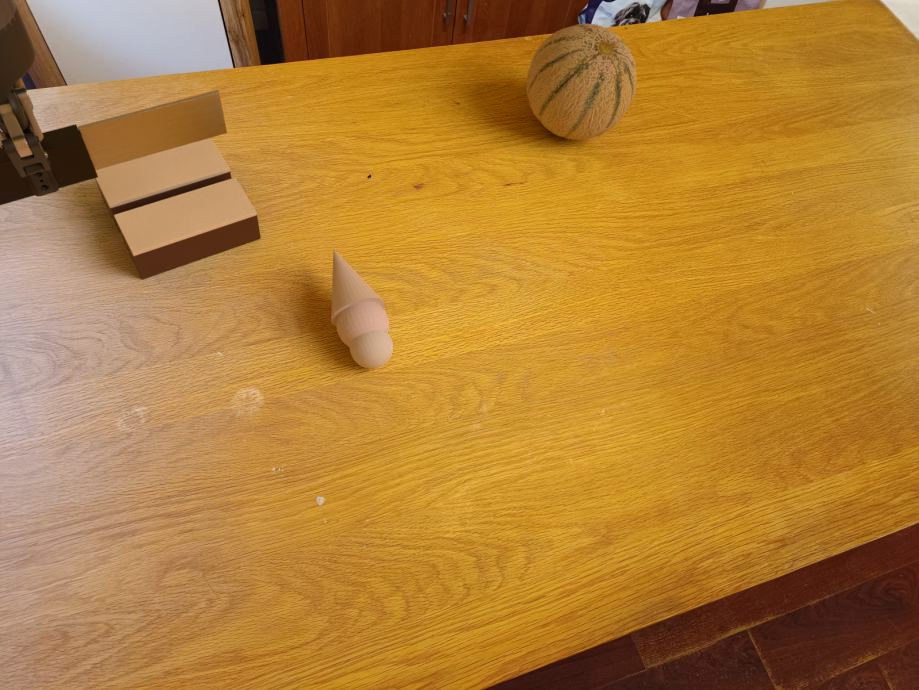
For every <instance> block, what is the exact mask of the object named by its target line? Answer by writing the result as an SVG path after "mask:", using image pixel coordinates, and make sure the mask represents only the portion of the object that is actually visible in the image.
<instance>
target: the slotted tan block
mask: <svg viewBox="0 0 919 690" xmlns="http://www.w3.org/2000/svg"><path fill="white" fill-rule="evenodd" d="M96 172H97V175H98V177H97V178H94V180H95V183H96V185H97V188H98V190H99V192H100V194H101V198H102V200H103V202H104V204H105V206H106V208H107V210H108V212H109V214H110V216H111V218H112V220H113V222H114V225H115V227H116V228H117V231H118V232H119V234H120V236H121V238H122V240H123V243H124V245H125V247H126V249H127V251H128V253H129V255H130V257H131V259H132V262H133V263H134V265H135V268H136V269H137V272H138V274H139V276H140V278H141V280H147V279H149V278H151V277H154V276H157V275H160V274H163V273H166V272H169V271H172V270H176V269H177V268H180V267H184V266H187V265H189V264H192V263H194V262H197V261H201V260H203V259H206V258H209V257H212V256H215V255H218V254H220V253H224V252H227V251H229V250H232V249H235V248H238V247H240V246H245V245H246V244H249V243H252V242H256V241H258V240H261V231H260V224H259V218H258V212H257V210H256V208H255V207H254V205H253V203H252V202H251V200H250V199H249V196H247V194H246V191H244V189H243V187H242V186H241V184H240V183H239V181H238V179H237V178H236V177H232V174H231V173H232V172H231V168H230V166H229V165H228V163H227V161H226V160H225V158H224V157H223V155H222V153H221V152H220V150H219V148H218V147H217V145H216V144H215V142H214V140H213V139H212V138H208V139H205V140H201V141H197V142H194V143H190V144H187V145H183V146H180V147H176V148H173V149H169V150H166V151H162V152H159V153H155V154H152V155H148V156H145V157H141V158H137V159H134V160H130V161H127V162H123V163H120V164H116V165H113V166H109V167H106V168H102V169H99V170H96Z"/></svg>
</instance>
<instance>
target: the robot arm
mask: <svg viewBox="0 0 919 690" xmlns="http://www.w3.org/2000/svg"><path fill="white" fill-rule="evenodd" d="M17 6H18V5H17V4H16V1H15V0H0V147H1V148H2V149H3V151H4V152H5V151H6V153H7V155H8V156H9V158H10V160H11V161H12V163H13V165H14V166H15V169H16V172H17V174H20V176H21V178H22V177H25V178H26V180H27V182H28V184H29V186H30V188H31V190H32V192H33V194H34V195H35V196H36V197H43V196H46V195H50V194H54V193H56V192H58V191H59V190H60V188H59V186H58V183H57V181H56V179H55V177H54V175H53V173H52V170H51V167H50V165H51V162H50V160H49V159H47V157H48V155H47V153H46V152H44V150H43V148H42V146H41V144H40V141H41V140H42V139H43V134H42V133H43V132H42V129H41V127H40V125H39V123H38V120H37V118H36V116H35V113H34V104H33V101H32V99H31V97H30V95H29V93H28V91H27V88H26V86H25V84H24V81H23V79H22V78H24V76H26V75H27V74H28V73H29V71H30V70H31V69H32V67H33V65H34V64H35V60H36V51H35V47H34V44H33V41H32V39H31V37H30V34H29V33H28V30H27V27H26V24H25V23H24V21H23V18H22V15H21V13H20V11H19V8H18V7H17Z"/></svg>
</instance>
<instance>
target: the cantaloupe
mask: <svg viewBox="0 0 919 690" xmlns="http://www.w3.org/2000/svg"><path fill="white" fill-rule="evenodd" d="M637 80H638V78H637V67H636V63H635V58H634V56H633V54H632V51H631V50H630V48H629V47H628V46H627V44H626V43H625V42H624V41H623V39H622V38H621V37H620V36H619V35H618V34H616V33H615V32H614V31H613V30H611V29H608V28H605V27H604V26H602V25H599V24H595V23H579V24H575V25H572V26H568V27H564V28H561V29H559V30H557V31H555V32H554V33H552V34H551V35H550V36H548V37H546V39H545V40H544V41H543V42H541V44H540V45H539V46H538V48H537V49H536V51H535V52H534V54H533V57H532V59H531V62H530V66H529V69H528V71H527V77H526V85H525V87H526V96H527V99H528V102H529V107H530V109H531V111H532V113H533V115H534V117H535V118H536V119H537V120H538V121H539V122H540V123H541V124H542V126H543V127H544V128H545V129H546V130H548V131H549V132H551V133H552V134H553V135H556V136H557V137H561V138H564V139H566V140H567V139H568V140H573V141H579V142H581V141H586V140H589V139H593V138H595V137H599V136H601V135H603V134H604V133H607V132H609V131H610V130H612V129H613V128H615V126H617V124H618V123H620V122H621V121H622V119H623V117H625V115H626V113H627V111H628V110H629V108H630V106H631V104H632V102H633V100H634V97H635V95H636V91H637V83H638V82H637Z"/></svg>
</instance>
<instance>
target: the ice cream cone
mask: <svg viewBox="0 0 919 690" xmlns="http://www.w3.org/2000/svg"><path fill="white" fill-rule="evenodd" d="M332 252H333V253H332V280H331V281H332V282H331V285H332V286H331V289H332V290H331V311H330V313H331V314H330V315H331V316H330V319H331V320H330V323H331V325H332V326H333V327H335V328H336V331H337V334H338V337H339V340H341V341H342V343H343V344H344V345H345V346H347V347H348V348H349V352H350V356H351V357H352V359H353V361H355V363H356V364H357V365H359V366H360V367H362V368H365V369H369V370H371V369H373V370H374V369H375V370H376V369H378V368H381V367H383V366H385V365H386V364H387V363H388V362H389V360H390V359H391V358H392V355H393V353H394V342H393V339H392V337H391V334H389V331H390V320H389V315H388V313H387V311H386V309H385V308H386V302H385V301H384V300H383V299H382V297H381V296H380V295H379V294H378V293H377V292H376V290H374V289H373V288H372V287H371V286H370V285H369V284H368V283H367V282H366V280H364V279H363V277H362V276H361V275H360V274H359V273H358V272H357V271H356V270H355V269H354V268H353V267H352V266H351V265H350V264H349V263H348V262H347V260H345V259H344V258H343V256H341V255H340V254H339V253H338V251H337V250H335V249H334V248H333V250H332Z"/></svg>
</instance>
